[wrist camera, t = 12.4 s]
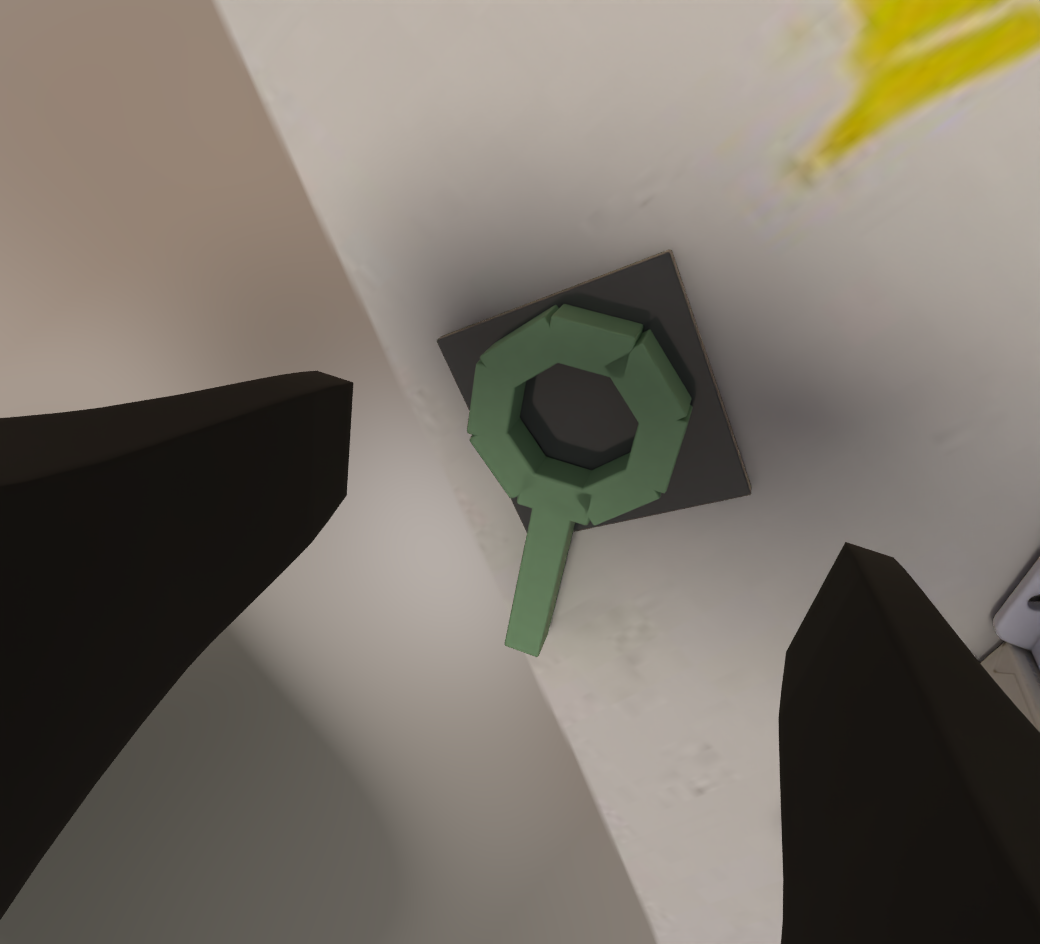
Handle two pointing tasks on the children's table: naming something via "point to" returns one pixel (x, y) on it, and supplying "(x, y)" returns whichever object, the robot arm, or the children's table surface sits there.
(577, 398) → the coaster
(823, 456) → the children's table surface
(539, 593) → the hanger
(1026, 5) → the children's table surface
